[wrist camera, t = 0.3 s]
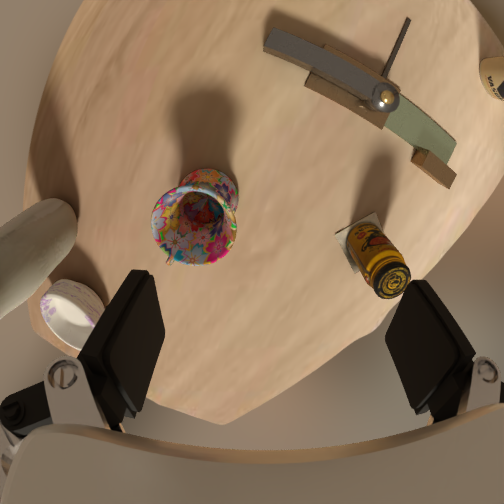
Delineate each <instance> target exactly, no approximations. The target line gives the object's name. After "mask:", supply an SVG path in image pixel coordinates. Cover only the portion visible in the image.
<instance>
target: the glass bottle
mask: <svg viewBox="0 0 504 504" xmlns="http://www.w3.org/2000/svg"><path fill="white" fill-rule="evenodd" d="M77 229H78V228H77V220H76V216H75V213H74V211H73V209H72V207H71V206H70V205H69V204H68V203H66V202H64V201H63V200H60V199H57V198H49V199H45V200H43V201H40V202H38V203H36V204H34V205H33V206H31V207H30V208H28V209H26V210H25V211H23V212H22V213H20V214H19V215H17V216H16V217H14V218H13V219H11V220H10V221H9V222H7V223H6V224H4V225H3V226H2V227H0V319H2V318H3V317H4V315H5V314H7V313H8V312H10V311H11V310H13V309H14V308H15V307H17V306H19V305H20V304H21V303H23V302H24V301H25V300H27V299H28V298H29V297H30V296H31V295H32V294H33V293H34V292H35V291H36V290H37V289H38V287H39V286H40V285H41V284H42V283H43V282H44V280H45V279H46V278H47V277H48V275H49V274H50V273H51V272H52V271H53V269H54V268H55V267H56V266H57V265H58V264H59V263H60V262H61V261H62V260H63V259H64V258H65V257H66V255H67V254H68V253H69V252H70V250H71V249H72V247H73V245H74V243H75V240H76V236H77Z"/></svg>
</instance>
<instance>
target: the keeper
mask: <svg viewBox="0 0 504 504" xmlns="http://www.w3.org/2000/svg"><path fill="white" fill-rule="evenodd" d="M399 97H400V103H399V106H398V108H397V109H396V110H395V111H393V112H390V114H389V116H388V118H387V120H386V123H385V125H384V126H385V127H386V128H388V129H389V130H391V131H392V132H394V133H395V134H397V135H398V136H399V137H401V138H402V139H404V140H405V141H406V142H408V143H409V144H410V145H412V146H413V147H414V148H415V149H417V150H416V152H415V154H414V156H413V158H412V160H411V162H412V163H413V164H415V165H416V166H417V167H419V168H420V169H421V170H422V171H424V172H425V173H426V174H428V175H429V176H430V177H431V178H433V179H434V180H435V181H436V182H437V183H439V184H441V185H442V186H444V187H446V188H448V189H450V187H451V185H452V183H453V181H454V179H455V177H456V175H457V174H456V173H455V172H454V171H453V170H452V169H451V168H449V167H448V166H447V163H448V161H449V159H450V157H451V155H452V152H453V150H454V148H455V146H456V144H457V143H456V142H455V141H454V140H453V139H452V138H451V137H450V136H449V135H448V134H447V133H446V132H445V131H444V130H443V129H442V128H440V127H439V126H438V125H437V124H436V123H435V122H434V121H433V120H431V119H430V118H429V117H428V116H427V115H425V114H424V113H423V112H422V111H421V110H419V109H418V108H417V107H416V106H414V105H413V104H412V103H411V102H409V101H408V100H407V99H405V98H404V97H403V96H401V95H400V94H399Z"/></svg>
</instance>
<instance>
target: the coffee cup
mask: <svg viewBox="0 0 504 504" xmlns="http://www.w3.org/2000/svg"><path fill="white" fill-rule="evenodd" d="M479 73H480V78H481V81H482V84H483V86H484V88H485V90H486V91H487V93H488V94H489V95H490V96H491V97H493V98H495V99H499V100H502V101H504V56H502V57H492V58H485V59H483V60H482V61H481V63H480V67H479Z"/></svg>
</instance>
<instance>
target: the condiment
mask: <svg viewBox="0 0 504 504" xmlns="http://www.w3.org/2000/svg"><path fill="white" fill-rule="evenodd" d="M335 236H336V238H337V240H338V242H339V244H340V245H341V247H342V249H343V251H344V253H345V255H346V257H347V259H348V261H349V263H350V265H351V267H352V269H353V271H354V273H357V272H359V271H361V273H362V275H363V277H364V279H365V281H366V282H367V284H368V285H369V286H371V287H372V288H373V289H374V291H375V293H376V294H377V296H378V297H380V298H382V299H392V298H395V297H397V296H399V295H400V294H402V293H403V292H404V291H405V288H406V286H407V285H408V284H409V283H410V280H411V274H410V270H409V268H408V267H407V266H406V264H405V262H404V258H403V256H402V254H401V253H400V252H399V251H398V250H397V249H396V247H395V246H394V245H393V244H392V243H391V241H390V240H389V239H388V238H387V237H386V236H385V234H384V232H383V229H382V227H381V224H380V222H379V219H378V217H377V215H376V212H374V213H372V214H370V215H368V216H367V217H364V218H363V219H361V220H359V221H357V222H356V223H354V224H352V225H351V226H349V227H347V228H346V229H344V230H342V231H341V232H339V233H337V234H335Z"/></svg>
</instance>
